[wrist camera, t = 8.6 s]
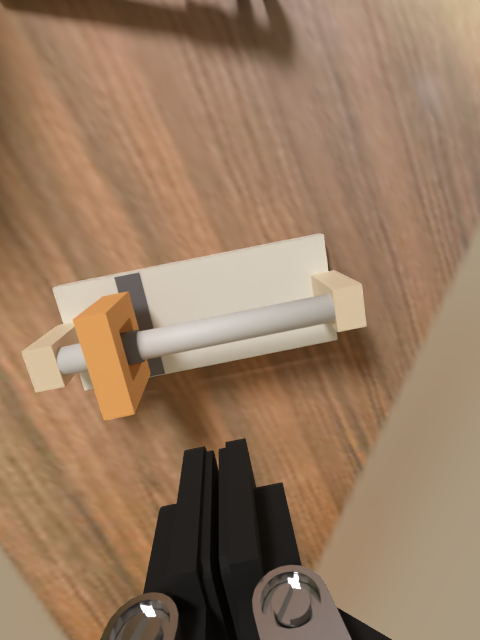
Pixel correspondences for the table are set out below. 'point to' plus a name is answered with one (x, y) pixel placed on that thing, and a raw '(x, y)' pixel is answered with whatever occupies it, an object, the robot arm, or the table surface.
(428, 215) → the table surface
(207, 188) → the table surface
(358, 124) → the table surface
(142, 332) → the rod stand
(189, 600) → the robot arm
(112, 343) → the collar
